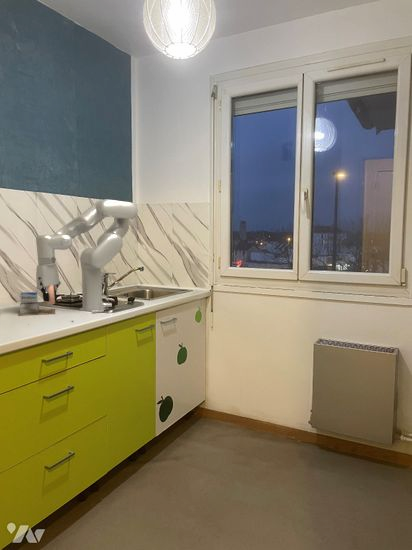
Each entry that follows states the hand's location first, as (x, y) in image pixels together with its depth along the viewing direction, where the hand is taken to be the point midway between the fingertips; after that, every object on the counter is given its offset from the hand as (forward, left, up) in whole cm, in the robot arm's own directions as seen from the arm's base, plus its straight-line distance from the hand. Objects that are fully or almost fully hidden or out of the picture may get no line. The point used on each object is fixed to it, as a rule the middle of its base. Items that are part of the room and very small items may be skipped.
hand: (50, 299), depth 193 cm
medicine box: (+10, -22, -8) cm, 25 cm away
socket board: (+6, -4, -7) cm, 10 cm away
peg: (0, 0, -2) cm, 2 cm away
